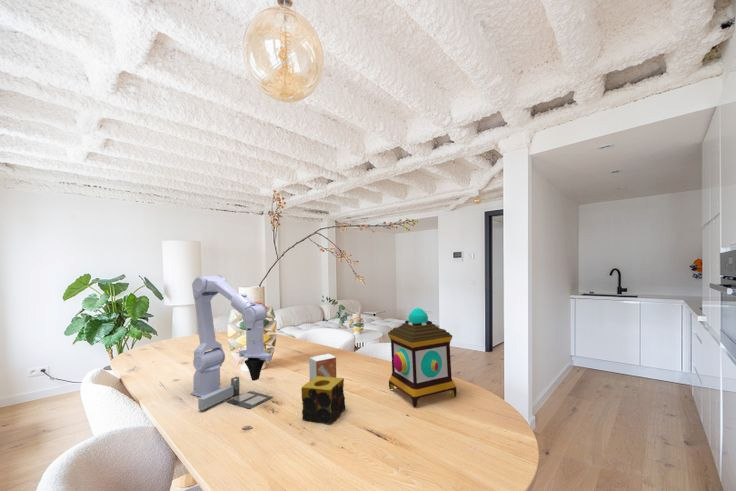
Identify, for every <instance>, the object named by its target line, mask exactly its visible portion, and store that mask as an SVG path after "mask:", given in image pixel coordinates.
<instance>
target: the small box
mask: <svg viewBox="0 0 736 491" xmlns="http://www.w3.org/2000/svg"><path fill="white" fill-rule="evenodd" d="M308 361H309V362H308V363H309V364H308V367H309V381H311V380H312V379H313V378H315V377H316V376H322V377H335V378H337V357H336V356H335V355H333V354H331V353H326V354H320V355H314V356H312V357H311V356H310V357H309V358H308Z"/></svg>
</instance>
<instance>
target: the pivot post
mask: <svg viewBox="0 0 736 491" xmlns="http://www.w3.org/2000/svg"><path fill="white" fill-rule="evenodd" d="M230 383H231V384H230V385H231V386H233V391H234V395H233V396H231V397H232V398H235V397H238V396H240V395H241V394H240V391H241V390H240V377H239V376H235V377H231V379H230Z"/></svg>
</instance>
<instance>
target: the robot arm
mask: <svg viewBox="0 0 736 491" xmlns="http://www.w3.org/2000/svg"><path fill="white" fill-rule="evenodd" d="M191 285H192V286H191V287H192V294H193V299H194V307H195V314H196V321H197V330H198V331H197V332H198V339H199V345H198V346H197V347H196V348H195V350H194V351H193V360H192V365H193V368H194V369H195V372H194V374H193V381H192V382H193V389H192V390H193V391H192V392H190V393H191V395H192V396H197V397H198V398H201V397H203V396H205V395H207V394H210V393H212V392H214V391H217V390H219V389H221V388H222V387H221V367H222V365H223V363H224V362H225V359H226V353H225V351H224V349H223V344H222V343H220V342H218V341H217V339H216V333H215V332H216V331H215V325H214V317H213V311H212V309H213V308H212V303H211V302H212V300H213V298H214V297H215V296H217V295H218V294H219V295H222V296H223V297H224V298H226V299H228V301H230V305H231V307H232V308H234V309H235V310H236V311H237V312H238V313H240V315H241V318H242V320H243V323H244V327H245V329H246V330H245V331H246V332H245V333H246V334H245V335H246V336H245V337H246V342H245V343H246V344H245V345H246V349H242V350H240V351H238V353H239V356H238V357H240V358H244V359H245V358H246V359H245V360H244V364H245V365H246V367H247V369H248V372H249V376H250V378H251V381H253V382H254V381H257V380H259V379H260V376H261V373H262V368H263V366H264V364H265V362H270V361H272V360H273V354H272V353H268V352H267V351H264V348H265V347H264V345H265V344H264V341H265V339H264V337H265V336H264V334H265V333H264V320H265V319H266V318H267V315H268V311H267V308H266V306H265V305H264V304H262V303H260V304H257V303H256V302H255V301H253V300H252V299H251V298H249V297H248V295H247V294H246V293H238V292H237V291H236V290H235V289H234V288H233V287H232V286H230V284H229V283H227V279H226V278H225V277H223V276H222V275H220V274H218V275H199V276H196V277H195V278H194V280H193V281H192V283H191Z"/></svg>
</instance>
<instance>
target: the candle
mask: <svg viewBox="0 0 736 491" xmlns="http://www.w3.org/2000/svg"><path fill="white" fill-rule="evenodd" d="M344 379H345V378H344V377H336V378H335V377H322V376H316V377H315V378H313V379H312V380H311V381H310V380H309V381H308V382H305V384H303V385H302V386H301V401H302V403H301V404H302V410H301V412H302V413H301V414H302V420H303V421H305V422H313V423H320V424H326V425H333V424H334V423H335V421H336V420H338V418H339V417H340V416H341V415H342V413H343V412H344V411H346V398H345V394H344V385H345V384H344V382H345V380H344Z"/></svg>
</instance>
